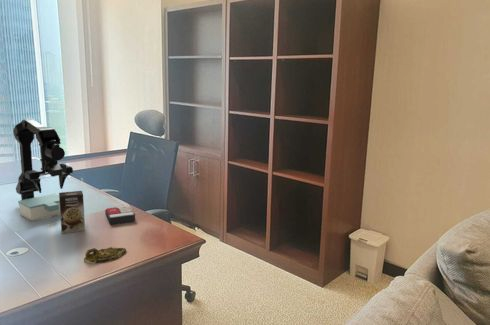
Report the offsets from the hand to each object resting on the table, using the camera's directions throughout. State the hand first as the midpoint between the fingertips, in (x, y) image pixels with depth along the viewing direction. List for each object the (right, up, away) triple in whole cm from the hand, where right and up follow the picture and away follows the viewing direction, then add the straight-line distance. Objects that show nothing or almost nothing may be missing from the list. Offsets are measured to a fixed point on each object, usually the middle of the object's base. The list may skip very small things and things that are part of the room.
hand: (51, 190), depth 169 cm
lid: (-5, -8, +5) cm, 11 cm away
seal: (+37, -22, -32) cm, 53 cm away
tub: (-7, -11, +8) cm, 16 cm away
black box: (+29, -14, +5) cm, 33 cm away
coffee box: (+14, -16, -10) cm, 23 cm away
